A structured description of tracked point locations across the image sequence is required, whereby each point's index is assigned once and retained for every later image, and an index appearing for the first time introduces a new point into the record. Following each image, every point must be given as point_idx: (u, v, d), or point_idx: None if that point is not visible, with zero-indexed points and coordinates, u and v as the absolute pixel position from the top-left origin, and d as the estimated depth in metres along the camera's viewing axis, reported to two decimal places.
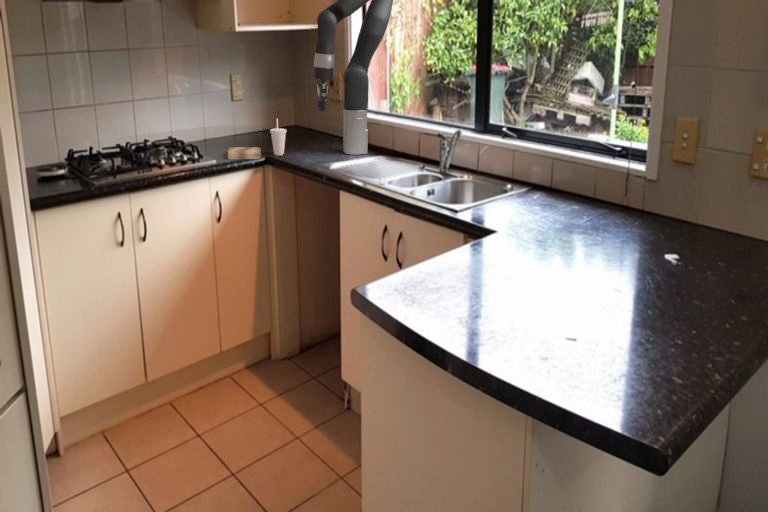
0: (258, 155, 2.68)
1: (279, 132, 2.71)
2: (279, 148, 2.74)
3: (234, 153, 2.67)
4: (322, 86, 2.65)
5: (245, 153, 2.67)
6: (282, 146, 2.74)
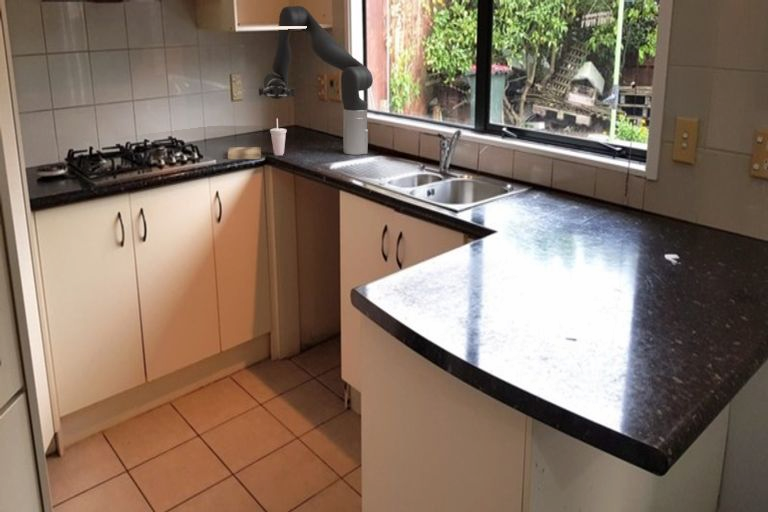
0: (258, 155, 2.68)
1: (279, 132, 2.71)
2: (279, 148, 2.74)
3: (234, 153, 2.67)
4: None
5: (245, 153, 2.67)
6: (282, 146, 2.74)
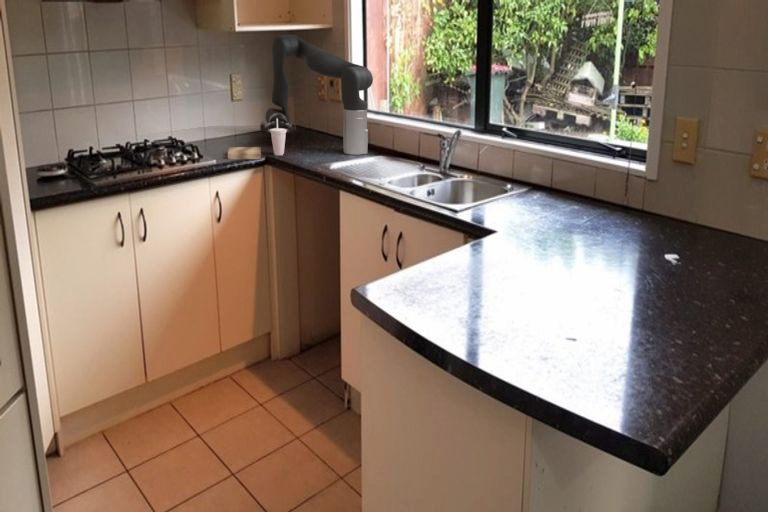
0: (258, 155, 2.68)
1: (279, 132, 2.71)
2: (279, 148, 2.74)
3: (234, 153, 2.67)
4: None
5: (245, 153, 2.67)
6: (282, 146, 2.74)
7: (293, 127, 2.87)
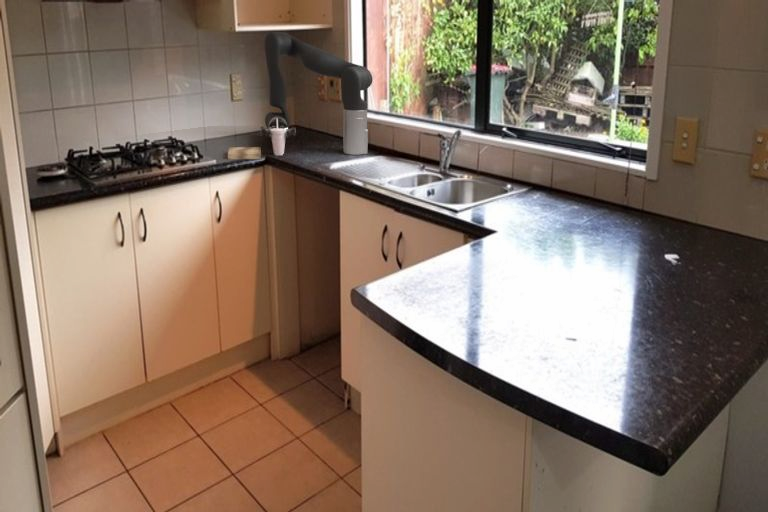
0: (258, 155, 2.68)
1: (279, 132, 2.71)
2: (279, 148, 2.74)
3: (234, 153, 2.67)
4: None
5: (245, 153, 2.67)
6: (282, 146, 2.74)
7: (292, 132, 2.76)
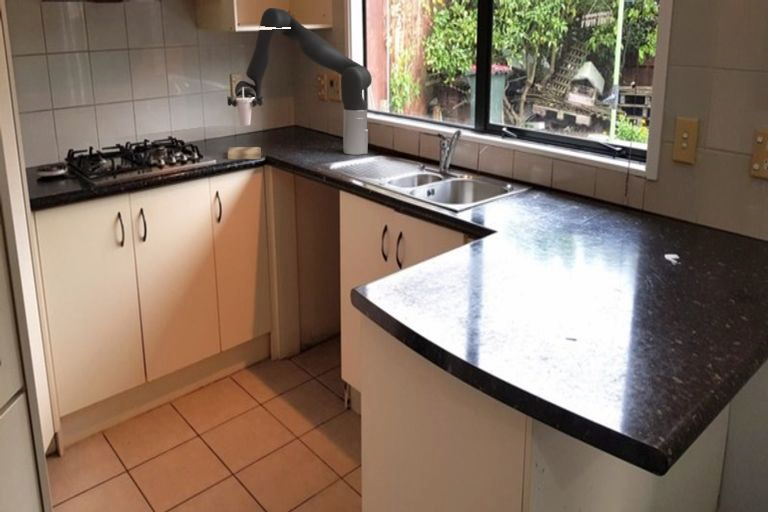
0: (258, 155, 2.68)
1: (245, 101, 2.64)
2: (245, 117, 2.67)
3: (234, 153, 2.67)
4: (227, 101, 2.73)
5: (245, 153, 2.67)
6: (248, 116, 2.67)
7: (258, 101, 2.69)
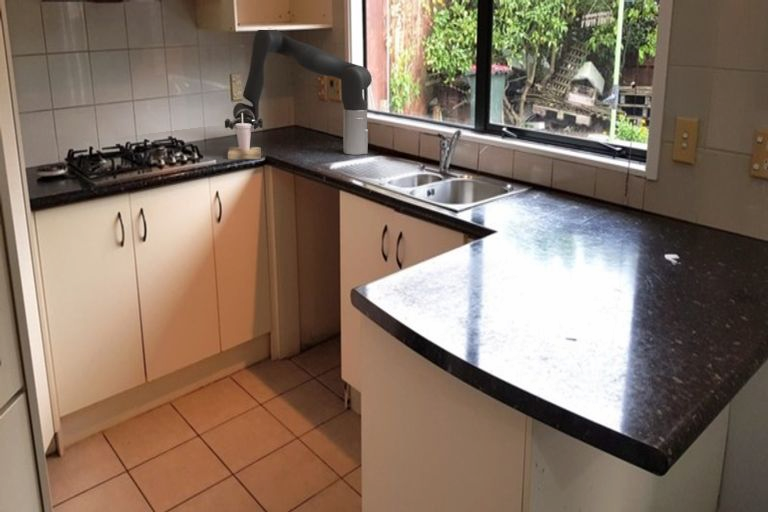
0: (258, 155, 2.68)
1: (244, 127, 2.67)
2: (244, 143, 2.69)
3: (234, 153, 2.67)
4: None
5: (245, 153, 2.67)
6: (247, 141, 2.70)
7: (259, 124, 2.72)
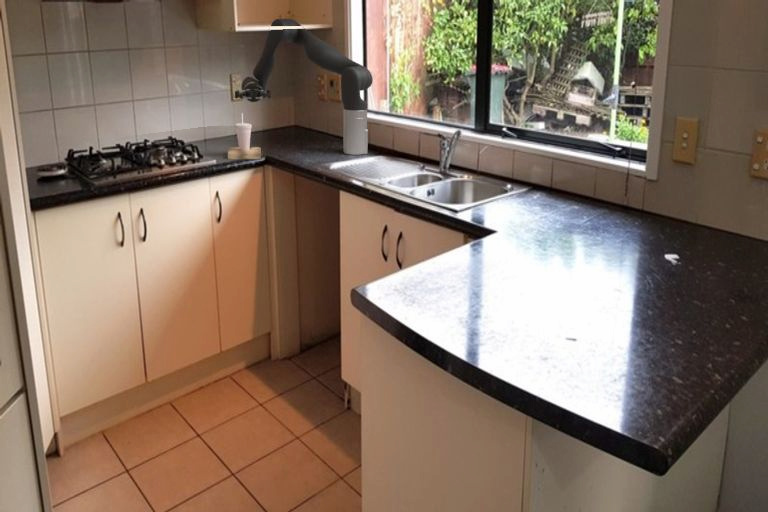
0: (258, 155, 2.68)
1: (244, 127, 2.66)
2: (244, 143, 2.69)
3: (234, 153, 2.67)
4: None
5: (245, 153, 2.67)
6: (247, 141, 2.70)
7: (268, 94, 2.84)
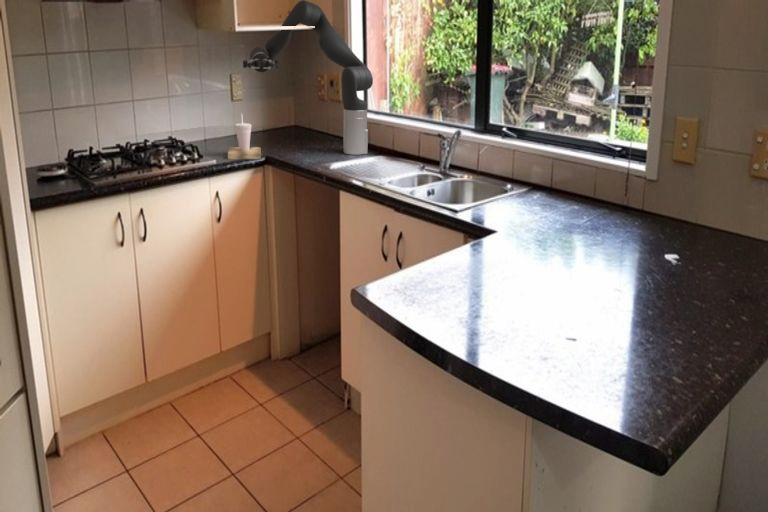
0: (258, 155, 2.68)
1: (244, 127, 2.66)
2: (244, 143, 2.69)
3: (234, 153, 2.67)
4: None
5: (245, 153, 2.67)
6: (247, 141, 2.70)
7: (276, 64, 2.85)
